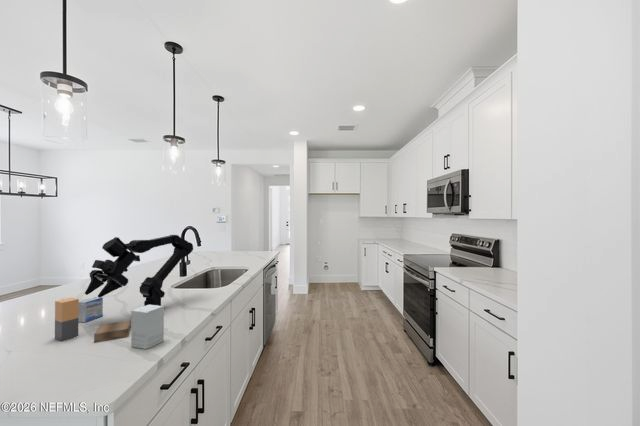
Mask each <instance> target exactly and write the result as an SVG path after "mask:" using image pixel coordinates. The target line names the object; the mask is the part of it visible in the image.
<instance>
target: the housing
mask: <svg viewBox="0 0 640 426" xmlns="http://www.w3.org/2000/svg"><path fill="white" fill-rule="evenodd" d="M79 302H80V300H79V298H77V297H76V298H75V297H68V298H64V299H63V298H62V299H58V300H55V301H54V340H57V341H58V340H59V342H61V343H62V342H65V341H69V340H71V338H72V339H74V337H75V338H77V336H78V337H79V324H80V322H79ZM68 339H69V340H68Z"/></svg>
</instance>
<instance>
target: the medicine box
mask: <svg viewBox="0 0 640 426" xmlns="http://www.w3.org/2000/svg"><path fill="white" fill-rule="evenodd" d="M103 303H104V298H103V296H102V297H100V298H99V297H98V296H95V297H91V298H88V299H84V300H79V323H88V322H91V321H93V319H94V320H96V319H98V318H102V317H103V314H104V313H103V310H104V309H103V308H104V305H103Z"/></svg>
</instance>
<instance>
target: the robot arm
mask: <svg viewBox="0 0 640 426" xmlns="http://www.w3.org/2000/svg"><path fill="white" fill-rule="evenodd" d="M170 244H171V245H172V247H174V248H173V253H172V255H170V257H169V258H168V259H167V260H166V262H165V263H164V264H163V265H162V266H161V267H160V268H159V270H158V271H157V272H156V273H155V274H154V275H153V276H152V277H151V276H147V277H146V278H145V279H144V280H143V282H141V283H140V286H139V293H140V294H141V295H142V297H143V298H145V300H144V303H143V306H146V305H149V304H150V305H157V306H162V298H164V297H165V294H166V292H165V291H164V290H162V288H163V283H164V281H165V279H166V278H167V277H168V276H169V275H170V273H172V271H173V270H174V268H175V267H177V265H178V264H179V262H181V261H182V259H184V258H185V257H187V256H189V254H191V253H192V252H193V251H194V246H193V243H192V242H189V241H188V240H186V239H184V238H182V237H181V236H180V235H178V234H169V235H166V236H161V237H156V238H151V239H133V240H131V241H129V243H125V242H123V241H122V240H121V239H120V237H119V236H118V237H117V236H115V237H114V238H112V239H110V240H108V241H106V242H105V243H103V245H102V250H104V251H105V252H106V253H107V254H109V255H110V256H111V257H113V258H116V257H117V258H116V259H115V260H114V261H113V260H111V259H105V260H100V259H95V260H94V261H93V264H92V265H91V268H93V269H92V270H91V271H90V272H89V273H88V275H89V277H90V282H89V284H88V286H87V288H86V290H85V292H84V294H85V295H86V296H87V295H90V294H91V293H92V292H94V291H95V290H97V289H98V288H100V287H102V286H103V285H104V287H103V288H101V290H100V291H99V293H98V295H97V297H99V298H100V297H102V298H103V297H104V296H106V295H108V294H109V293H112V292H113V291H116V290H118V289H120V288H123V287H126V286H127V285H128V284H129V278H127V276H125V275H123V274H124V272H125V273H127V272H128V271H129V269H128V268H129V267H130V265H132V264H133V263H134V262H141V258H140V255H139V254H144V253H147V252H148V251H151V250H152V249H154V248H157V247H161V246H166V245H170ZM135 253H136V254H137V255H136V254H135ZM105 283H106V284H105Z"/></svg>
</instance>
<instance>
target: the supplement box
mask: <svg viewBox="0 0 640 426" xmlns="http://www.w3.org/2000/svg"><path fill="white" fill-rule="evenodd" d="M164 312H165V307H164V306H163V305H161V306H157V305H150V304H149V305H146V306H144V305H143V306H141V307H137V308H135V309H132V310H131V313H130V315H131V317H130V318H131V319H130V320H131V329H130V334H131V335H130V336H131V337H130V339H131V341H130V343H131V344H130V346H131V347H132V348H139V349H143V350H148V349H149V348H152V347H153V346H156V345H159V344H160V343H162V342H163V341H164V340H165V334H164V333H165V331H164V330H165V325H164V324H165V316H164V315H165V313H164Z"/></svg>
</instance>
